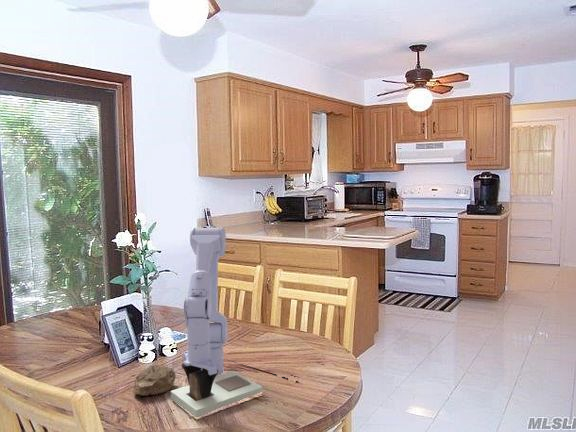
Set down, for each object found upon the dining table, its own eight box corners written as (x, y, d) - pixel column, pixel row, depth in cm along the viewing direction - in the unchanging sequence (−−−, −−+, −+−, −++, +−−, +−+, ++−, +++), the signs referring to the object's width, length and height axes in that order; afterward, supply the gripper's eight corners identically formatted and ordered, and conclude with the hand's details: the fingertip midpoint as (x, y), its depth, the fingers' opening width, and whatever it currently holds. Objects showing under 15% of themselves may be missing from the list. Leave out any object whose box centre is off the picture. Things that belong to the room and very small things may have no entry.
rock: (154, 403, 126) (154, 385, 126) (123, 396, 131) (122, 378, 130) (185, 383, 138) (184, 366, 138) (155, 377, 143) (154, 361, 142)
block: (189, 403, 126) (189, 373, 125) (203, 398, 128) (202, 369, 128) (197, 408, 123) (196, 378, 122) (211, 404, 125) (210, 374, 124)
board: (170, 400, 128) (170, 389, 127) (234, 379, 140) (234, 370, 140) (196, 420, 117) (196, 409, 117) (262, 395, 129) (262, 385, 129)
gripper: (171, 338, 127) (173, 388, 128) (198, 353, 116) (200, 407, 117) (195, 332, 132) (197, 380, 133) (223, 346, 120) (225, 398, 121)
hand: (200, 392), depth 125 cm, fingers open, 5 cm apart
